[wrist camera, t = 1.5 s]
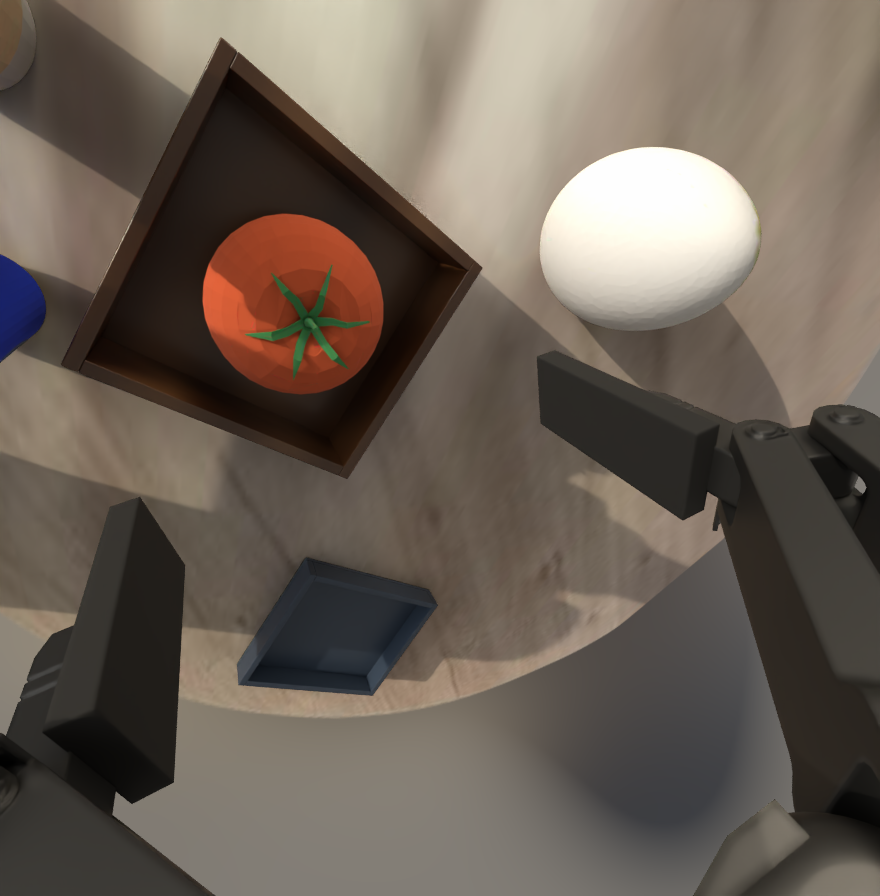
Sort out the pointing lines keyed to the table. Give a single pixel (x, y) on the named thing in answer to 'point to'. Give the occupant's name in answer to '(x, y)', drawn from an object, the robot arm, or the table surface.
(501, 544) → the table surface
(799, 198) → the table surface
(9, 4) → the coffee cup
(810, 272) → the table surface
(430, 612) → the tray
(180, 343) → the open wooden box
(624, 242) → the decorative egg
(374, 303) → the tomato
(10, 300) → the beverage can
